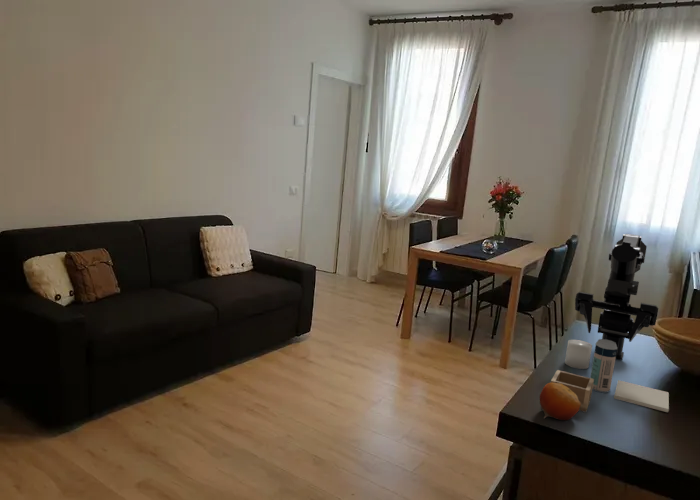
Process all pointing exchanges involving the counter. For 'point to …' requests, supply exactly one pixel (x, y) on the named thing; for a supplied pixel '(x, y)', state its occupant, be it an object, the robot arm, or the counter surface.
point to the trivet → (642, 396)
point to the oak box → (576, 386)
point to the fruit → (559, 401)
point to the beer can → (603, 365)
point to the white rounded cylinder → (578, 354)
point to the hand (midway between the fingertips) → (609, 336)
